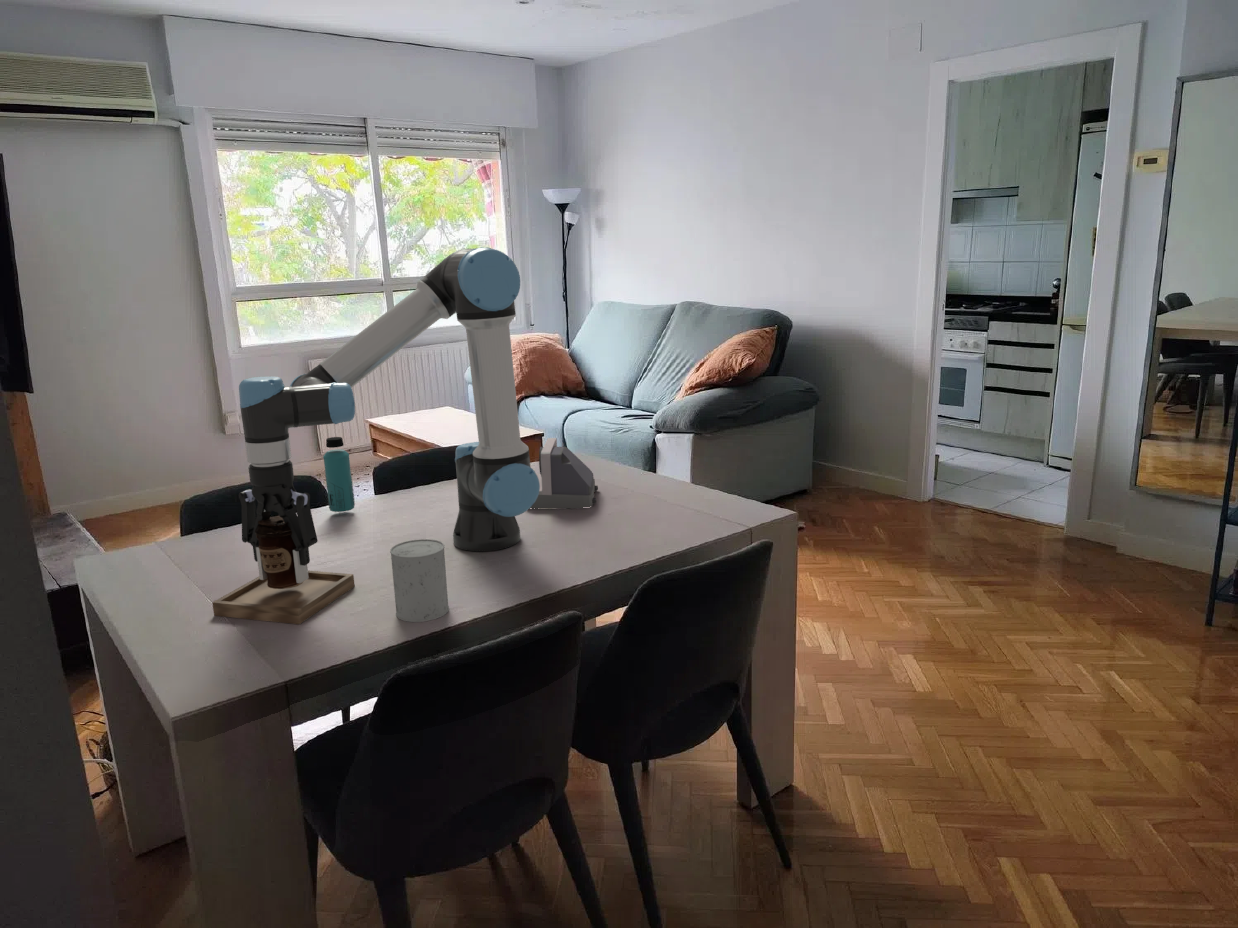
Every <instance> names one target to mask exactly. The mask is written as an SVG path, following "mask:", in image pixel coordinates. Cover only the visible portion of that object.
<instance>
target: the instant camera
mask: <svg viewBox="0 0 1238 928" xmlns="http://www.w3.org/2000/svg"><path fill="white" fill-rule="evenodd" d="M538 457H539V458H538V467H539V469H538V470H539V472H535V473H536V475H537V476H538V479H539V483H540V490H539V494H538V497H537V499H536V501H535V503H534V504H533V505H532V506H531V507H530V508H532V510H539V509H538V508H583V507H590V506H592V507H593V505H594V504H596V503H597V498H596V497H595V494H594V492H595V493H596V491H598V490H599V486H598V485H596V482H595V481H596V480H595V477H594V473H593V472H592V471H593V470H591V469H590V468H589V467H588V466H587V465H586V464H585V463H584V462H583V461H582V460H581V459H580V458H579V457H578V456H577V455H575V454H574V452H573V451H571V450H570V448H568V447H567V446H558V439H557V437H547V438H546V441H545V443H544V445H543V446H540V447H539V452H538ZM593 497H594V498H593ZM592 504H593V505H592ZM534 508H535V509H534Z"/></svg>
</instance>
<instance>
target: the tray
mask: <svg viewBox="0 0 1238 928" xmlns="http://www.w3.org/2000/svg"><path fill="white" fill-rule="evenodd" d="M354 575H355V574H353V573H342V572H333V571H331V572H330V571H319V570H308V576H309V578H308V579H307V580H305V581H303V583H302V584H300V585H299V586H296V587H292V588H286V589H273V588H269V587H268V585H267V583H268V578H266V579H264V580H260V576H259V575H258V577H255V578H254V579H251V580H250V581H248V582H246V583H244V584H243V585H241V586H239V587H238V588H236V589H234V590H232V591H230V592H228V593H226V594H225V595H223V596H221V597H220V598H218V599H215V600H213V601H212V610H213V615H214V616H216V617H223V618H224V617H225V618H234V619H241V620H242V619H243V620H252V621H253V620H255V621H262V622H270V623H271V622H273V623H282V624H293V625H301V624H302V623H304V622H305V621H307V620H308V619H310V618H311V617H313V616H314V615H316V614H317V613H318V612H319V611H321V610H323V609H324V608H326V607H327V606H329V605H330V604H332V603H333V602H335V601H336V600H337V599H339V598H340V597H341V596H343V595H345V594H346V593H347V592H349V591H350V590H352V589H354V588H355V587H356V585H355V576H354Z"/></svg>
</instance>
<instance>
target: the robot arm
mask: <svg viewBox="0 0 1238 928" xmlns="http://www.w3.org/2000/svg"><path fill="white" fill-rule="evenodd" d="M520 289H521V275H520V272H519V269H518V267H517V265H516V263H515V262H514V261H513V259H512V258H510V257H509V255H507V254H506V253H504V252H503V251H501V250H499V249H496V248H491V247H487V246H486V247H483V246H480V247H476V248H461V249H458V250H456V251H454V252H452V253H451V254H449V255H447V256H446V257H445V258H444V259H443V260H442V261H440V263H438V264H437V265H436V266H435V267H434V268H433V269H431V270H430V271H429V272H427V274H425V275H424V276H423V277H422V278H420V279H419V280H418V281H417V284H416V289H414V290H413V291H412V292H411V293H408V295H407V296H405V297H404V298H403V299H401V300H400V301H398V302H397V303H396V304H395V305H393V306H392V307H391V308H390V309H388V310H387V311H386V312H385V313H383V314H382V315H381V316H379V317H378V318H376V320H374V321H373V322H371V324H369V325H368V326H367V327H365V328H364V329H362V330H361V331H360V332H359V333H357V334H356V335H354V337H352V338H351V339H350V340H348V341H347V342H345V343H344V344H343V345H342V346H341V347H339V348H338V349H337V350H336V351H335V352H333V353H332V354H331V355H329V356H328V357H326V358H325V359H324V360H322V362H320V363H319V364H317V366H315V367H313V368H312V369H311V370H309V371H308V372H307V373H303V374H299V375H298V376H296V377H295V378H294V379H293V380H292V381H291V383H290V385H289V386H285V384H284V381H283V379H282V378H281V377H279V376H271V375H270V376H256V377H255V376H254V377H249V378H245V379H243V380H241V382H239V385H238V396H239V407H240V409H239V410H240V414H241V415H240V416H241V422H242V428H243V435H244V444H245V453H246V462H247V463H249V465H248V474H249V482H250V484H251V486H252V489H250V488H248V489H246V490H243V491H241V492H238V499H239V501H240V504H241V541H242V542H243V543H248V544H250V546H251V547H252V553H253V559H254V561H255V562H257V566H258V569H257V570H258V574H259V575H258V577H259V576H260V580H264V579H266V578H268V577H267V574H266V573H265V571H264V569H263V565H262V559H261V556H260V551H259V541H258V539H257V537H256V534H255V530H256V528H257V525H258V521H262V520H265V519H267V518H270V517H271V515H272V512H275V513H277V514H278V516H280V517H282V518H283V520H284V522H285V523H287V522H288V527H289V528H290V529H291V531H292V535H291V537H292V539H293V542H294V544H295V546H296V549H294V550H293V557H294V565H295V574H296V582H297V583H302V582H303V581H305V580H307V579H308V578H309V576H308V564H310V562H311V559H310V549H309V548H311V546H314V545H316V544H317V543H318V535H317V532H316V528H315V523H314V519H313V515H312V509H311V506H310V501H311V493H309V492H304V493H302V492H297V490H296V489H295V487H294V484H293V483H294V480H295V479H294V478H295V476H294V474H295V473H294V467H293V462H292V461H291V460H290V459H291V458H292V452H291V451H292V450H291V443H290V432H289V429H290V428H291V429H292V428H298V427H299V428H300V427H311V426H321V425H332V424H334V425H339V424H340V423H348V422H351V421H352V420H353V419H354V418H355V415H356V404H355V396H354V392H353V387H355V386H356V385H357V384H358V383H360V382H361V381H362V380H363V379H364V378H366V377H367V376H368V375H370V374H371V373H373V372H374V371H375V370H376V369H377V368H379V367H380V366H381V365H383V364H384V363H385V362H386V361H388V360H389V359H391V358H392V357H393V356H395V354H396V353H398V352H400V351H401V350H402V349H403V348H404V347H406V346H407V345H408V344H409V343H411V342H412V341H414V339H416V338H418V336H419V335H421V334H422V333H423V332H425V331H426V330H427V329H429V328H430V327H431V326H433V325H434V324H435V323H436V322H438V321H440V319H442V320H443V319H444V320H448V319H450V318H451V317H452V316H453V315H455V314H456V321H458V323H459V324H461V325H462V326H463V327H464V328H465V332H466V341H467V349H468V351H467V352H468V357H469V367H470V376H471V383H472V384H471V385H472V386H471V387H472V393H473V403H474V410H475V421H476V430H477V436H478V437H477V438H478V440H477V441H473V442H467V443H462V444H459V445H458V446H457V447H456V449H455V458H454V462H455V469H456V483H457V496H458V498H457V499H458V513H457V517H456V521H455V525H454V528H453V533H452V538H453V539H452V541H453V545H454V546H455V547H456V548H458V549H460V550H463V551H464V550H465V551H468V552H469V551H471V552H493V551H498V550H503V549H506V548H509V547H512V546H515V545H516V544H518V543H519V542H520V541H521V530H520V526H519V523H518V521H517V518H516V517H517V516H520V515H523V514H524V513H526V512H527V511H529V510H528V509H530V507H531V506H532V505H533V504H534V503H535V501H536V499H537V497H538V494H539V490H540V483H539V479H538V476H537V475H536V473H537V472H536V471H535V470H534V468H532V466H531V459H530V458H531V457H530V449H529V446H528V445H527V444H526V443H524V442H523V441H522V439H521V431H520V425H519V424H520V421H519V412H518V401H517V392H516V381H515V371H514V361H513V352H512V342H511V341H512V340H511V330H510V325H511V323H512V321H513V320H514V319H515V318H516V316H517V315H516V305H515V304H516V303H515V300H516V299H517V297H518V296H519V293H520ZM256 501H257V504H256ZM256 505H257V506H256ZM297 516H298V517H297Z"/></svg>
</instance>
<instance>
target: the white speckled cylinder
mask: <svg viewBox="0 0 1238 928" xmlns="http://www.w3.org/2000/svg"><path fill="white" fill-rule="evenodd" d="M389 552H390V559H391V569H392V570H391V571H392V581H393V591H394V592H393V593H394V599H395V600H394V602H395V616H396V618H398V619H399V620H401V621H403V622H408V623H423V622H429V621H430V622H431V621H434V620H437V619H440V618H442V617H443V616H445V615H446V614H448V612H449V610H450V606H449V598H448V585H447V571H446V558H445V544H444V543H443V542H442V541H441V540H435V539H426V538H423V539H422V538H421V539H413V540H412V539H411V540H407V541H403V542H400V543H398V544H395V545H394V546H392V547H391V549H390V551H389Z"/></svg>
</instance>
